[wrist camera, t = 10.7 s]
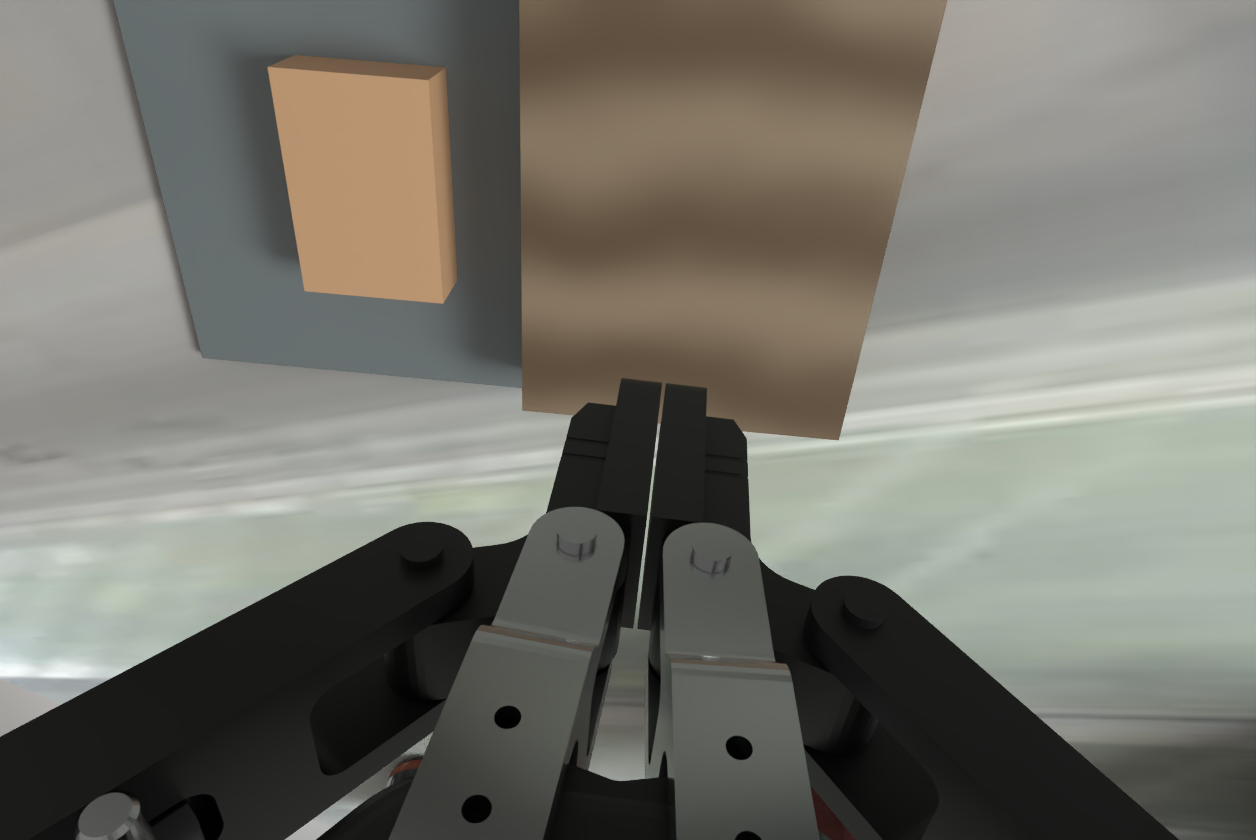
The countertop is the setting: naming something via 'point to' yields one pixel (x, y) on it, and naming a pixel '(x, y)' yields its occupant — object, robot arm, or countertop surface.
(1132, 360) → the countertop surface
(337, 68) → the tan rectangular block
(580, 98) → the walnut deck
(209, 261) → the slate mat
